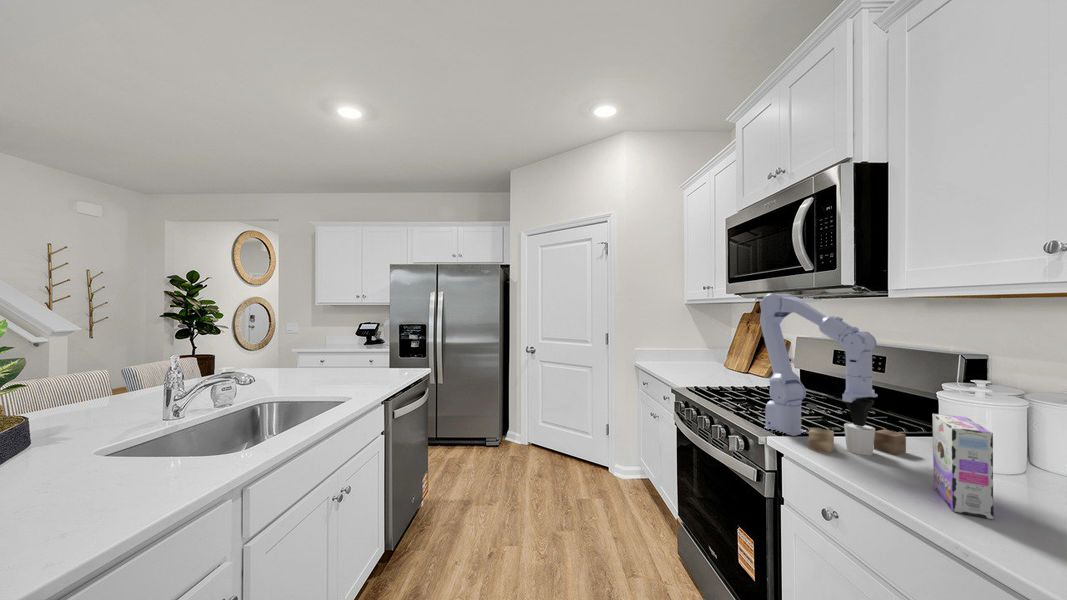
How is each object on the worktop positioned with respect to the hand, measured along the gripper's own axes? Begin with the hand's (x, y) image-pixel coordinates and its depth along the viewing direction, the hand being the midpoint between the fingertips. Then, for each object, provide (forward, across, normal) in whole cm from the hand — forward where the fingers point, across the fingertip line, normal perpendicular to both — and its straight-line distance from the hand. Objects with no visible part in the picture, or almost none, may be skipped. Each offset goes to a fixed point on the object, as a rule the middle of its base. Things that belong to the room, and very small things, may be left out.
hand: (859, 425), depth 114 cm
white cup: (+7, 0, 0) cm, 7 cm away
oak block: (+7, -6, +6) cm, 12 cm away
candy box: (+7, -17, -24) cm, 30 cm away
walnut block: (+7, +8, -4) cm, 12 cm away
